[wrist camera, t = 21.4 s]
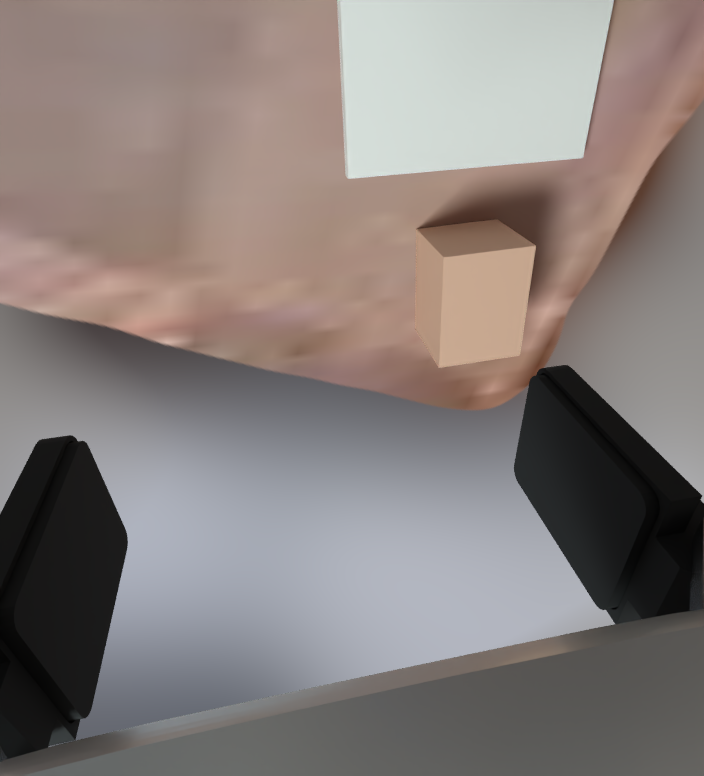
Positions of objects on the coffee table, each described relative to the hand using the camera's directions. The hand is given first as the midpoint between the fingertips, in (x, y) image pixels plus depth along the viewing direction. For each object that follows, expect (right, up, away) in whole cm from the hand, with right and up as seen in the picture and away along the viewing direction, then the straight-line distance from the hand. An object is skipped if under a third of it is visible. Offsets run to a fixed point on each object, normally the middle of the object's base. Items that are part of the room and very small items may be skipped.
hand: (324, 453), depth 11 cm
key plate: (+8, +24, +18) cm, 31 cm away
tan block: (+8, +10, +28) cm, 31 cm away
